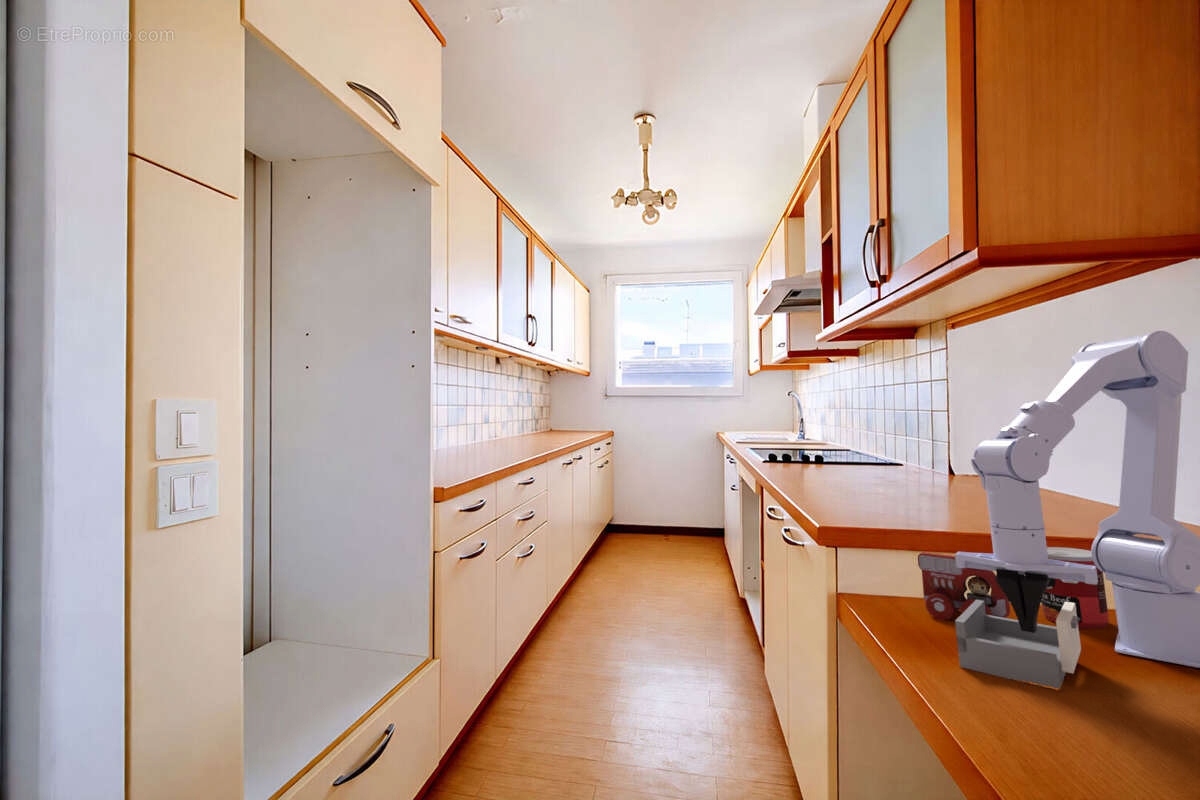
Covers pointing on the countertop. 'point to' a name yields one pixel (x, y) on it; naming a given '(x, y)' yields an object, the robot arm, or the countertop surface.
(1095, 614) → the canned food
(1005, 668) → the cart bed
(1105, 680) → the countertop surface
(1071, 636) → the panel
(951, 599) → the toy fire truck
